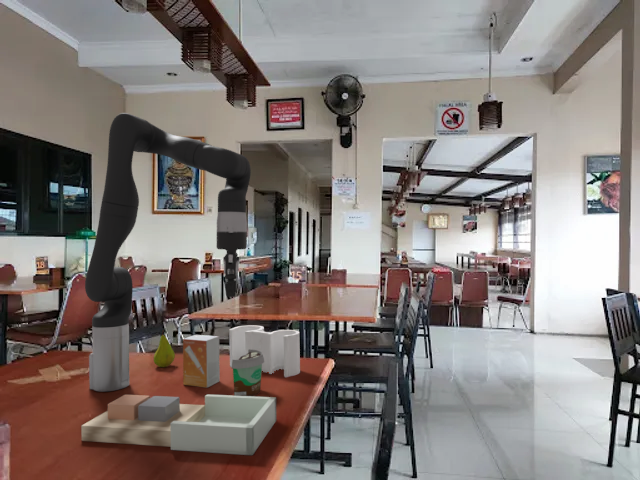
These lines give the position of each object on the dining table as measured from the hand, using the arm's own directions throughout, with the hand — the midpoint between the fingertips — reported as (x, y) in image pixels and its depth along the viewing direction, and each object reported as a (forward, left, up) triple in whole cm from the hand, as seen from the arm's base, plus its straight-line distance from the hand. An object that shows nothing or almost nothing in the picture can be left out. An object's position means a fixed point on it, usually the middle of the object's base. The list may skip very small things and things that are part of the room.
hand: (231, 294), depth 112 cm
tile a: (-16, -20, -23) cm, 34 cm away
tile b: (-9, -20, -23) cm, 32 cm away
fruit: (-34, +26, -27) cm, 50 cm away
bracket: (0, +28, -27) cm, 39 cm away
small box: (-14, +11, -27) cm, 32 cm away
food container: (+3, +5, -27) cm, 27 cm away
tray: (+7, -20, -26) cm, 34 cm away
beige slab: (-12, -20, -26) cm, 35 cm away
